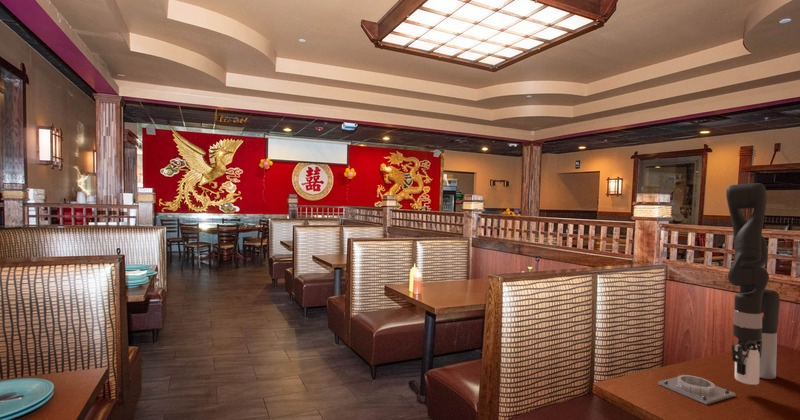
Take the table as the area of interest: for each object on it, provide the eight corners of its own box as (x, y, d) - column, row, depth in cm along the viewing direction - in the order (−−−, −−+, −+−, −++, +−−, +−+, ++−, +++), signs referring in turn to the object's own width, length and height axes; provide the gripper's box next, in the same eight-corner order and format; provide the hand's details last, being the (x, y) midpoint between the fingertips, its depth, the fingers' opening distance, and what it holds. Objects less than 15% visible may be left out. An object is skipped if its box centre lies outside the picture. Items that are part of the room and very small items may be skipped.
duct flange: (685, 377, 152) (686, 369, 152) (735, 396, 137) (735, 387, 137) (658, 384, 145) (658, 376, 145) (706, 404, 131) (706, 395, 131)
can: (764, 386, 135) (764, 350, 135) (742, 384, 136) (742, 349, 136) (751, 377, 141) (751, 344, 141) (730, 376, 143) (730, 343, 142)
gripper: (745, 318, 145) (745, 364, 145) (722, 324, 139) (722, 371, 139) (772, 324, 138) (771, 372, 138) (749, 330, 132) (748, 380, 132)
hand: (746, 371), depth 139 cm, fingers closed on can, 6 cm apart
